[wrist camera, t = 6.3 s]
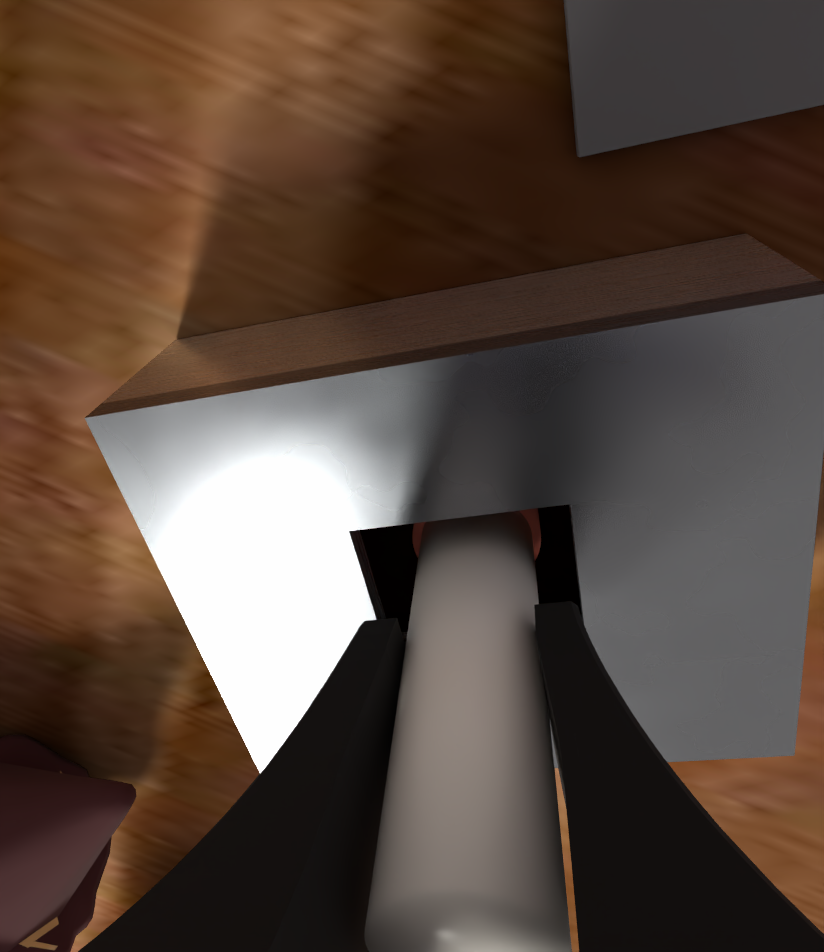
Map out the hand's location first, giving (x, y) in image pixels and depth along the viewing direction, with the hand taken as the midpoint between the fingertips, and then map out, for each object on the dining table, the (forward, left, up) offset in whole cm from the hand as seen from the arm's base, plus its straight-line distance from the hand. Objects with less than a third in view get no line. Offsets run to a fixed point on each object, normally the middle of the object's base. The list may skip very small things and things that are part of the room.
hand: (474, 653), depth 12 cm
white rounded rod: (0, 0, -3) cm, 3 cm away
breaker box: (0, 0, -5) cm, 5 cm away
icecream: (+17, +9, -6) cm, 20 cm away
